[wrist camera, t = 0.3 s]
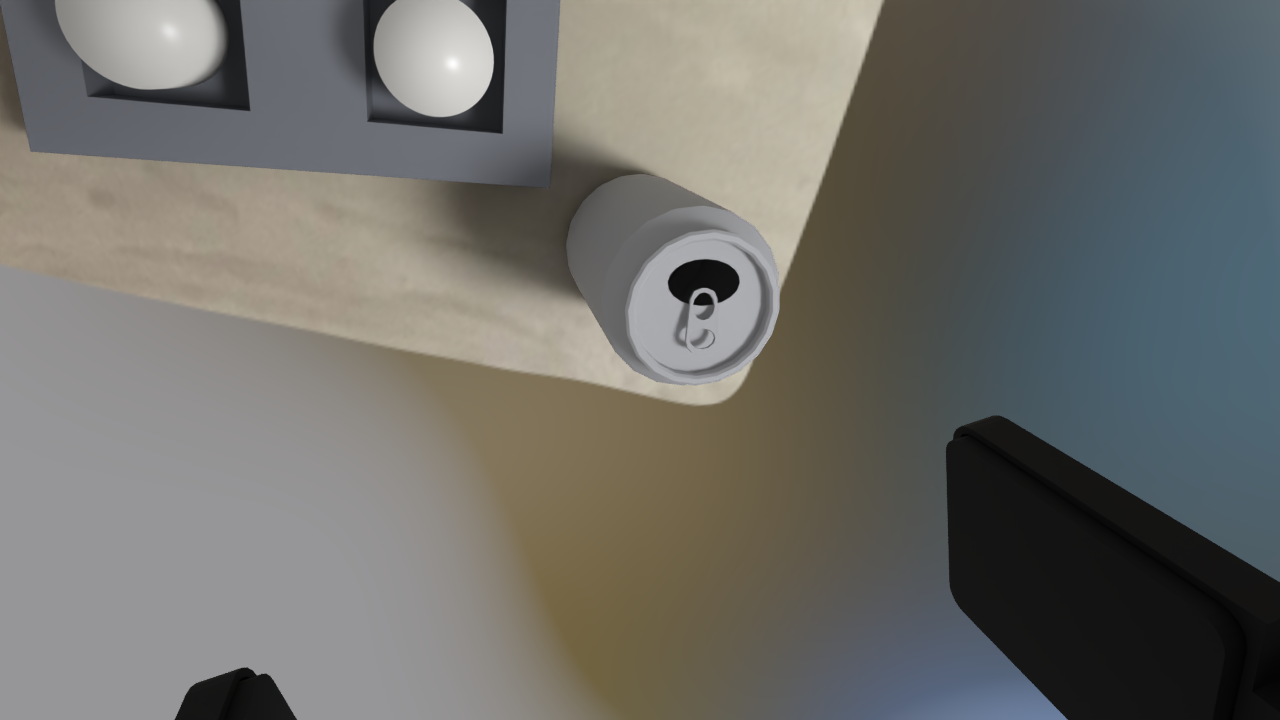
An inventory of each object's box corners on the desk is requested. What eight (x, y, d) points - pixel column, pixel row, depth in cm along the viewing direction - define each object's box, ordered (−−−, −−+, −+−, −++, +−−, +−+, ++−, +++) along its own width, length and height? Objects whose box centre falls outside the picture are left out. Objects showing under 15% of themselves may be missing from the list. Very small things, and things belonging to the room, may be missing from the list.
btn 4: (379, -9, 28) (371, -18, 25) (491, 6, 29) (495, -1, 26) (382, 107, 29) (375, 111, 27) (488, 117, 30) (492, 122, 28)
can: (707, 175, 37) (813, 217, 26) (691, 310, 39) (781, 400, 28) (566, 167, 35) (617, 208, 24) (560, 310, 37) (603, 405, 27)
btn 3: (86, -49, 25) (42, -63, 22) (222, -30, 26) (196, -42, 24) (107, 81, 27) (68, 82, 24) (235, 93, 28) (211, 95, 25)
